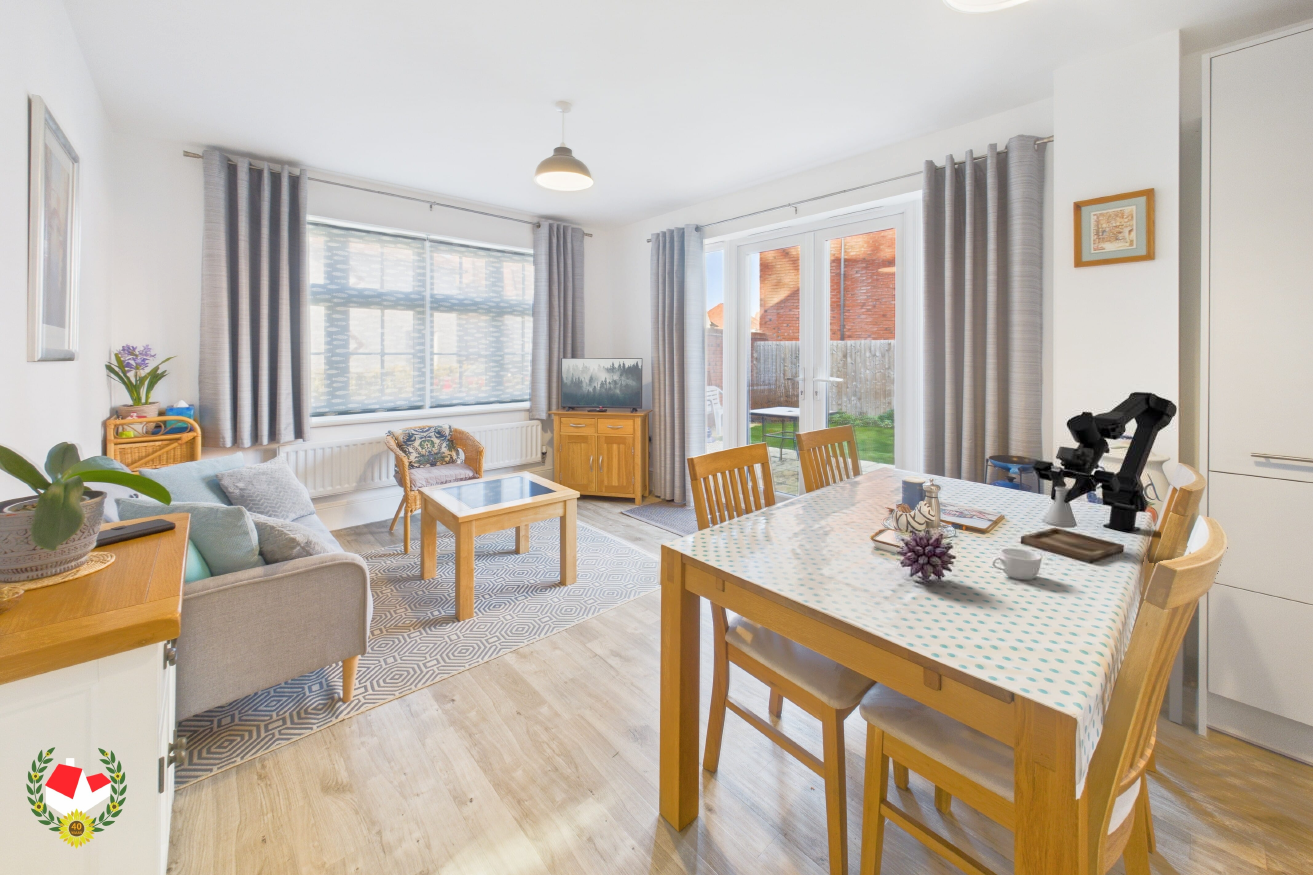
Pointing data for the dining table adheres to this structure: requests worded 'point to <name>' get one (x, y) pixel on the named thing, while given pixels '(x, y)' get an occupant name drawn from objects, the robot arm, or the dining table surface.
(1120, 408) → the robot arm
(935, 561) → the flower
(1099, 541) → the walnut tray
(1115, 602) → the dining table surface
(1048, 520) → the flask
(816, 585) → the dining table surface
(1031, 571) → the teacup
